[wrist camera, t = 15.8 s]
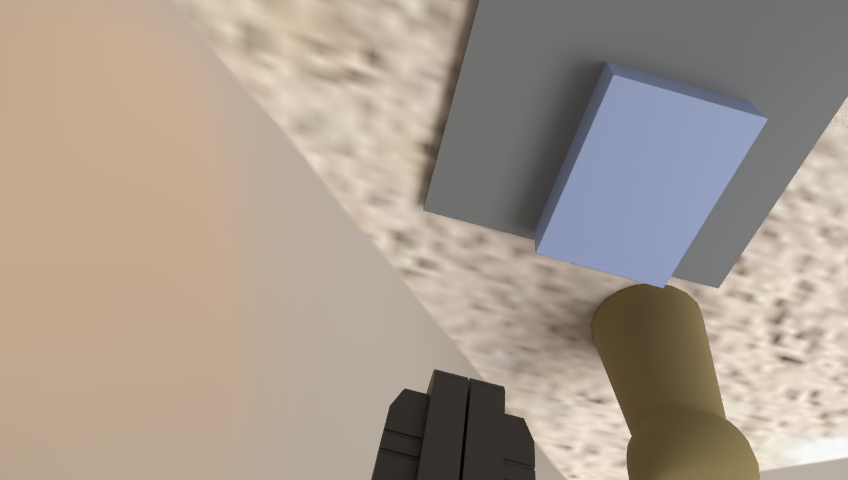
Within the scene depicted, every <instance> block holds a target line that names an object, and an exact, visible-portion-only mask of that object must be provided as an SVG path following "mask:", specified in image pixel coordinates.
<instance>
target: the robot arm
mask: <svg viewBox="0 0 848 480" xmlns="http://www.w3.org/2000/svg"><path fill="white" fill-rule="evenodd" d="M534 468H535V451H534V440H533V438H532V436H531V434H530V431H529V429H528V427H527V425H526V422H525V420H524V418H520V417H516V416H512V415H508V414H505V389H504V387H503V386H499V385H496V384H492V383H488V382H484V381H480V380H476V379H472V378H470V379H469V380H468V378H467V377H463V376H459V375H455V374H451V373H447V372H443V371H439V370H436V369H435V370H434V371H433V374H432V377H431V380H430V384H429V387H428V390H427V393H426V394H425V393H420V392H416V391H412V390H409V389H404V390H403V391H402V392H401V393H400V395H399V396H398V397H397V398H396V399H395V401H394V402H393V403H392V404H391V405H390V408H389V411H388V415H387V419H386V423H385V427H384V431H383V434H382V438H381V442H380V446H379V450H378V454H377V458H376V463H375V467H374V470H373V475H372V479H371V480H535V471H534Z"/></svg>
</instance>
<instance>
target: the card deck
mask: <svg viewBox="0 0 848 480" xmlns="http://www.w3.org/2000/svg"><path fill="white" fill-rule="evenodd" d="M767 120H768V118H767V117H766V116H765V115H764V114H762V113H761V112H760V111H759V110H758V109H757V108H756V107H755V106H754V105H752V104H751V103H750V102H747V101H743V100H740V99H736V98H733V97H729V96H726V95H722V94H719V93H715V92H712V91H708V90H705V89H701V88H698V87H694V86H691V85H687V84H684V83H680V82H677V81H673V80H670V79H666V78H663V77H659V76H656V75H652V74H649V73H645V72H642V71H638V70H635V69H631V68H628V67H624V66H621V65H617V64H614V63H610V62H607V61H606V63H605V65H604V68H603V70H602V72H601V75H600V77H599V80H598V82H597V84H596V87H595V89H594V91H593V94H592V96H591V99H590V101H589V103H588V106H587V108H586V110H585V113H584V115H583V117H582V120H581V122H580V125H579V127H578V129H577V132H576V134H575V136H574V139H573V141H572V144H571V146H570V148H569V151H568V153H567V155H566V158H565V160H564V162H563V165H562V167H561V170H560V172H559V174H558V177H557V179H556V181H555V184H554V186H553V189H552V191H551V193H550V196H549V198H548V200H547V203H546V205H545V207H544V210H543V212H542V215H541V217H540V219H539V222H538V224H537V226H536V229H535V231H534V236H535V248H536V253H537V254H540V255H544V256H547V257H551V258H555V259H558V260H562V261H566V262H569V263H573V264H577V265H580V266H584V267H588V268H591V269H595V270H598V271H602V272H606V273H609V274H613V275H617V276H620V277H624V278H628V279H631V280H635V281H639V282H642V283H646V284H649V285H653V286H657V287H660V288H664V286H665V285H666V283H667V282H668V280H669V278H670V277H671V275H672V273H673V272H674V270H675V269H676V267H677V265H678V264H679V262H680V261H681V259H682V257H683V256H684V254H685V252H686V251H687V249H688V248H689V246H690V244H691V243H692V241H693V240H694V238H695V236H696V235H697V233H698V231H699V230H700V228H701V227H702V225H703V223H704V222H705V220H706V218H707V217H708V215H709V214H710V212H711V210H712V209H713V207H714V206H715V204H716V202H717V201H718V199H719V197H720V196H721V194H722V193H723V191H724V189H725V188H726V186H727V185H728V183H729V181H730V180H731V178H732V176H733V175H734V173H735V172H736V170H737V168H738V167H739V165H740V164H741V162H742V160H743V159H744V157H745V155H746V154H747V152H748V151H749V149H750V147H751V146H752V144H753V143H754V141H755V139H756V138H757V136H758V134H759V133H760V131H761V130H762V128H763V126H764V125H765V123H766V122H767Z"/></svg>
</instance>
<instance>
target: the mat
mask: <svg viewBox="0 0 848 480" xmlns="http://www.w3.org/2000/svg"><path fill="white" fill-rule="evenodd" d="M606 61H607V62H610V63H614V64H617V65H621V66H624V67H628V68H631V69H635V70H638V71H642V72H645V73H649V74H652V75H656V76H659V77H663V78H666V79H670V80H673V81H677V82H680V83H684V84H687V85H691V86H694V87H698V88H701V89H705V90H708V91H712V92H715V93H719V94H722V95H726V96H729V97H733V98H736V99H740V100H743V101H747V102H750V103H751V104H752V105H754V106H755V107H756V108H757V109H758V110H759V111H760V112H761V113H762V114H764V115H765V116H766V117H767V118H768V120H767V122H766V123H765V125H764V126H763V128H762V130H761V131H760V133H759V134H758V136H757V138H756V139H755V141H754V143H753V144H752V146H751V147H750V149H749V151H748V152H747V154H746V155H745V157H744V159H743V160H742V162H741V164H740V165H739V167H738V168H737V170H736V172H735V173H734V175H733V176H732V178H731V180H730V181H729V183H728V185H727V186H726V188H725V189H724V191H723V193H722V194H721V196H720V197H719V199H718V201H717V202H716V204H715V206H714V207H713V209H712V210H711V212H710V214H709V215H708V217H707V218H706V220H705V222H704V223H703V225H702V227H701V228H700V230H699V231H698V233H697V235H696V236H695V238H694V240H693V241H692V243H691V244H690V246H689V248H688V249H687V251H686V252H685V254H684V256H683V257H682V259H681V261H680V262H679V264H678V265H677V267H676V269H675V270H674V272H673V273H672V275H671V276H674V277H677V278H681V279H685V280H689V281H693V282H696V283H700V284H704V285H708V286H712V287H715V288H719V287H720V285H721V284H722V282H723V281H724V279H725V278H726V276H727V275H728V273H729V272H730V270H731V269H732V267H733V266H734V264H735V263H736V261H737V260H738V258H739V257H740V255H741V254H742V252H743V251H744V249H745V248H746V246H747V245H748V243H749V242H750V240H751V239H752V237H753V236H754V234H755V233H756V232H757V230H758V229H759V227H760V226H761V224H762V223H763V221H764V220H765V218H766V217H767V215H768V214H769V212H770V211H771V209H772V208H773V206H774V205H775V203H776V202H777V200H778V199H779V197H780V196H781V194H782V193H783V191H784V190H785V188H786V187H787V185H788V184H789V182H790V181H791V179H792V178H793V176H794V175H795V173H796V172H797V171H798V169H799V168H800V166H801V165H802V163H803V162H804V160H805V159H806V157H807V156H808V154H809V153H810V151H811V150H812V148H813V147H814V145H815V144H816V142H817V141H818V139H819V138H820V136H821V135H822V133H823V132H824V130H825V129H826V127H827V126H828V124H829V123H830V121H831V120H832V118H833V117H834V115H835V114H836V112H837V111H838V109H839V108H840V107H841V105H842V104H843V102H844V101H845V99H846V98H847V96H848V0H479V3H478V6H477V10H476V14H475V18H474V21H473V25H472V29H471V33H470V36H469V40H468V44H467V48H466V51H465V55H464V59H463V63H462V66H461V70H460V74H459V77H458V81H457V85H456V89H455V92H454V96H453V100H452V104H451V107H450V111H449V115H448V119H447V122H446V126H445V130H444V134H443V137H442V141H441V145H440V149H439V152H438V156H437V160H436V164H435V167H434V171H433V175H432V179H431V182H430V186H429V190H428V194H427V197H426V201H425V205H424V209H423V210H424V211H428V212H431V213H435V214H439V215H443V216H447V217H450V218H454V219H458V220H462V221H466V222H469V223H473V224H477V225H481V226H484V227H488V228H492V229H496V230H500V231H503V232H507V233H511V234H515V235H519V236H522V237H526V238H530V239H534V240H535V236H534V231H535V229H536V226H537V224H538V222H539V219H540V217H541V215H542V212H543V210H544V207H545V205H546V203H547V200H548V198H549V196H550V193H551V191H552V189H553V186H554V184H555V181H556V179H557V177H558V174H559V172H560V170H561V167H562V165H563V162H564V160H565V158H566V155H567V153H568V151H569V148H570V146H571V144H572V141H573V139H574V136H575V134H576V132H577V129H578V127H579V125H580V122H581V120H582V117H583V115H584V113H585V110H586V108H587V106H588V103H589V101H590V99H591V96H592V94H593V91H594V89H595V87H596V84H597V82H598V80H599V77H600V75H601V72H602V70H603V68H604V65H605V63H606Z"/></svg>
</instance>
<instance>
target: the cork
mask: <svg viewBox="0 0 848 480" xmlns="http://www.w3.org/2000/svg"><path fill="white" fill-rule="evenodd" d="M591 328H592V337H593V340H594V342H595V345H596V347H597V350H598V352H599V355H600V357H601V360H602V362H603V365H604V367H605V370H606V372H607V375H608V377H609V380H610V382H611V385H612V387H613V390H614V392H615V395H616V397H617V400H618V403H619V405H620V408H621V410H622V413H623V415H624V418H625V420H626V423H627V425H628V428H629V430H630V433H631V435H632V437H631V439H630V441H629V443H628V447H627V470H628V475H629V480H759V479H760V475H759V466H758V463H757V460H756V458H755V456H754V453H753V451H752V449H751V447H750V444H749V442H748V440H747V439H746V438H745V437H744V435H743V434H742V433H741V432H740V431H739V430H738V429H737V428H736V427H735V426H734V425H733V424H732V423H730V422H729V421H728V420H726V416H725V412H724V407H723V403H722V399H721V394H720V390H719V386H718V381H717V377H716V373H715V368H714V364H713V360H712V355H711V351H710V347H709V342H708V338H707V334H706V329H705V325H704V321H703V316H702V313H701V311H700V309H699V306H698V304H697V302H696V301H695V300H693V299H692V298H691V297H690V296H689V295H688V294H687V293H686V292H684V291H681V290H679V289H677V288H675V287H673V286H668V285H665V286H664V288H660V287H657V286H653V285H649V284H643V285H635V286H632V287H629V288H626V289H623V290H620V291H618V292H617V293H615V294H614V295H612V296H611V297H609V298H607V299H606V300H605V301H604V302H603V303H602V304H601V306H600V307H599V308H598V309H597V310H596V312H595V315H594V317H593V320H592V323H591Z"/></svg>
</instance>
